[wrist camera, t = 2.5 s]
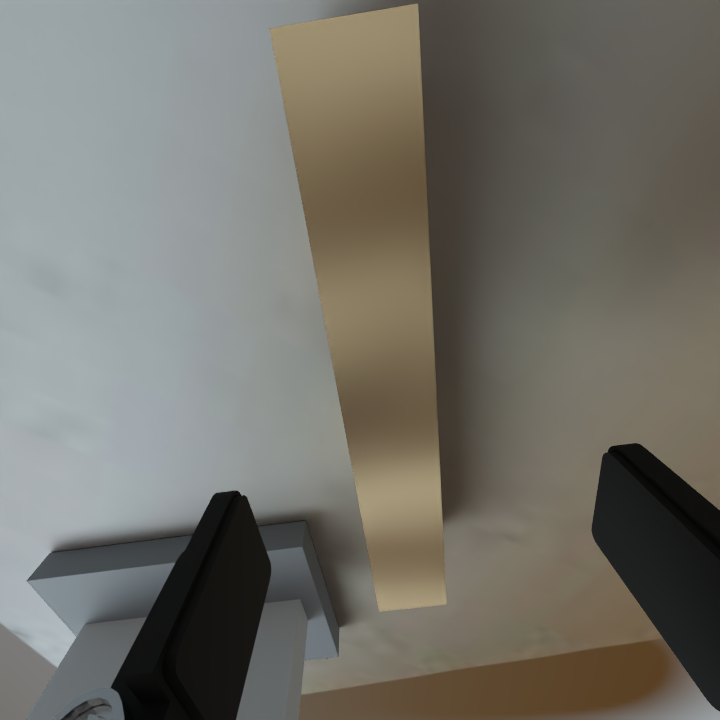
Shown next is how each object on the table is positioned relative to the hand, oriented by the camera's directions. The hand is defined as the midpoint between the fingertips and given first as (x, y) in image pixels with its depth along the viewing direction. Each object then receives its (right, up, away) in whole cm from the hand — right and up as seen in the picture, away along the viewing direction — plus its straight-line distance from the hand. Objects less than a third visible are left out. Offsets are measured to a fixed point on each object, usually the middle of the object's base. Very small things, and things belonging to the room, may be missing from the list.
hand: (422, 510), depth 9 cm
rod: (-1, +4, +6) cm, 7 cm away
